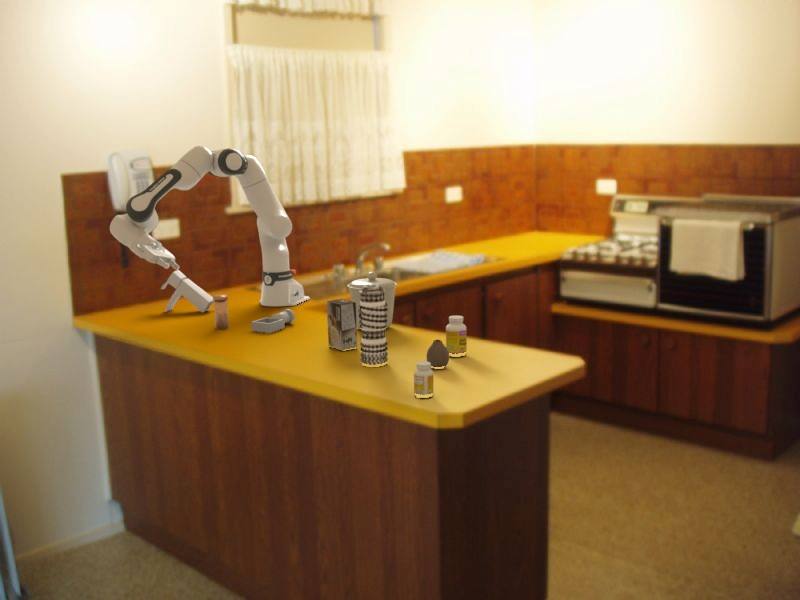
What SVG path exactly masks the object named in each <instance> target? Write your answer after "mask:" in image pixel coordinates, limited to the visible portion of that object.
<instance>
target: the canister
mask: <svg viewBox="0 0 800 600" xmlns="http://www.w3.org/2000/svg"><path fill="white" fill-rule="evenodd" d="M366 285H379V286H381V287H382V288H383V290H385V292H384V296H385V303H387V304H388V305H387V306H385V307H384V308H387V309H388V310H387V311H386V312H385V311H384V314H387V317H386V318H385V319H387V322H386V323H385V325H386V326H387V329H389V328H390V327H391V326H392V322H393V319H394V317H393V315H394V308H395V307H394V306H395V295H396V287H397V286H398V283H397V282H395V281H393V280H392V279H389V278H384V277H383V278H382V277H378V274H377V273H376V272H374V271H370V272H368V273H367V275H366V278H364V277H363V278H359V279H354V280H353V281H351V282H350V283H348V284H347V288H348V289H349V295H350V296H349V297H350V301H352V302H356V324H357V329H358V328H359V329H358V330H360V325H361V324H359V321H360V320H361V319H360V318H359V314H360V313H359V312H358V310H359V309H360V307H359V306H360V300H361V294H360V292H359V291H360V290H361V289H362V288H363V287H364V286H366ZM361 316H362V315H361ZM388 327H389V328H388Z"/></svg>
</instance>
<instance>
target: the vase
mask: <svg viewBox="0 0 800 600" xmlns="http://www.w3.org/2000/svg"><path fill="white" fill-rule="evenodd" d="M449 361H450V357H449V353H448V350H447V348H446V345H445V344H444V343H443V341H442V339H434V340H433V341H432V344H431V345H430V346H429V347H428V348H427V352H426V362H430V363H431V366H433V367H442V366H446V365H447V364H448V365H449ZM448 365H447V366H448ZM447 366H446V367H447Z"/></svg>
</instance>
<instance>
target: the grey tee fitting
mask: <svg viewBox="0 0 800 600" xmlns="http://www.w3.org/2000/svg"><path fill="white" fill-rule="evenodd" d="M295 317H296V316H295V313H294V311H293V309H291V308H285V309H282V310H281V311H280V312H278V313H273V314H272V315H271V316H270V317H267V316H266V317H262V318H259V319H256V320H252V321H250V323H251V331H252V332H255V331H257V332H256V333H263V332H265V333H264V334H273V333H275V331H276V332H279V331H281V330H280V329H282V330H284V329H283V328H286V327H285V325H289V323H290V324H293V322H294V321H295ZM285 323H287V324H285ZM278 330H279V331H278ZM272 332H273V333H272Z"/></svg>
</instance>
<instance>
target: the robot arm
mask: <svg viewBox="0 0 800 600" xmlns="http://www.w3.org/2000/svg"><path fill="white" fill-rule="evenodd" d="M206 174H210V175H211V176H214V177H217V178H228V177H231V176H234V177H235V178H237V180H238V181H239V184H240V186H241V188H242V190H243V193H244V195H245V197H246V199H247V200H248V204H249V205H250V207H251V208H252V209H253V211H254V213H255V214H256V216H257V217H256V226H257V231H258V236H259V244H260V248H261V257H262V271H261V278H262V283H261V294H260V295H261V297H260V299H259V303H260V305H261V306H264V307H289V306H291V307H292V306H297V304H298V305H299V303H300V304H302V303H304V301H305V302H306V300H307V301H309V300H311V297H310V296H308V295H305V291H304V287H303V285H302V284H301V283H299V282H298V281H297V280H295V278H294V277H293V276H294V275H296V269H290V252H289V248H288V244H287V240H286V238H287V237H289V236H290V234H291V233H292V230H293V224H292V220H291V219H290V218H289V215H288V214H287V212H286V210H285V208H284V207H283V205H282V203H281V202H280V200H279V199H278V197H277V196H276V193H275V190H274V189H273V187H272V185H271V183H270V181H269V179H268V176H267V174H266V173H265V170H264V169H263V167H262V165H261V164H260V162H259V161H258V159H257V158H256V156H255V157H254V156H253V155H243V154H242V153H241V152H240V151H239V150H237V149H234V148H230V147H229V148H221V149H217V150H213V151H210V150H209V149H208V148H207V147H205V146H203V145H197V146H194V147H193V148H191V149H190V150H188V151H187V152H186V153H184V155H183V156H181V157H180V158H179V159H178V160H177V162H176V163H175V164H174V165H173V166H172V167H171V168H169V169H167V170H166V171H165V172H164V173H162V174H161V175H160V176H159V177H157V178H156V179H155V180H154V181H153V182H152V183H151V184H149V186H147V188H145V189H144V190H143V191H141V192H139V193H137V194H135V195H133V196H132V197H130V198H129V199H128V201H127V202H126V205H125V212H126V213H124V214H117V215H115V216H114V217H113V219H112V220H111V222H110V224H109V231H110V234H111V235H112V236H113V238H115V239H116V240H117V241H118V242H119V243H121V244H122V245H123V246H126V247H127V248H129V250H130V251H131V252H132V253H133V254H135V255H136V256H138V258H140V259H144V260H145V261H147V262H148V263H151V264H157V265H159V266H160V267H163V268H164V269H166V270H167V269H169V268H170V267H172V269H174V271H177V270H180V265H179V264H177V262H176V257H175V256H174V255H173V253H171V252H170V251H169V250H168V249H166V247H164V246H163V244H162V243H161V242H160V241H158V239H155V238H154V237H153V236H151V235H150V233H152V232H153V231H154V230H155V229H156V228H157V226H158V225H159V221H160V220H159V215H158V212H157V211H156V209H155V208H156V205H157V203H158V202H159V201H160V200H162V198H163V197H164V196H166V195H167V194H168V193H169V192H170V191H171V190H173V189H176V190H179V191H189V190H190V189H192V188H194V187H195V186H196V185H197V184H198V183H199V182H200V181H201V180H202V178H203V177H204V176H205V175H206ZM301 302H302V303H301Z"/></svg>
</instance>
